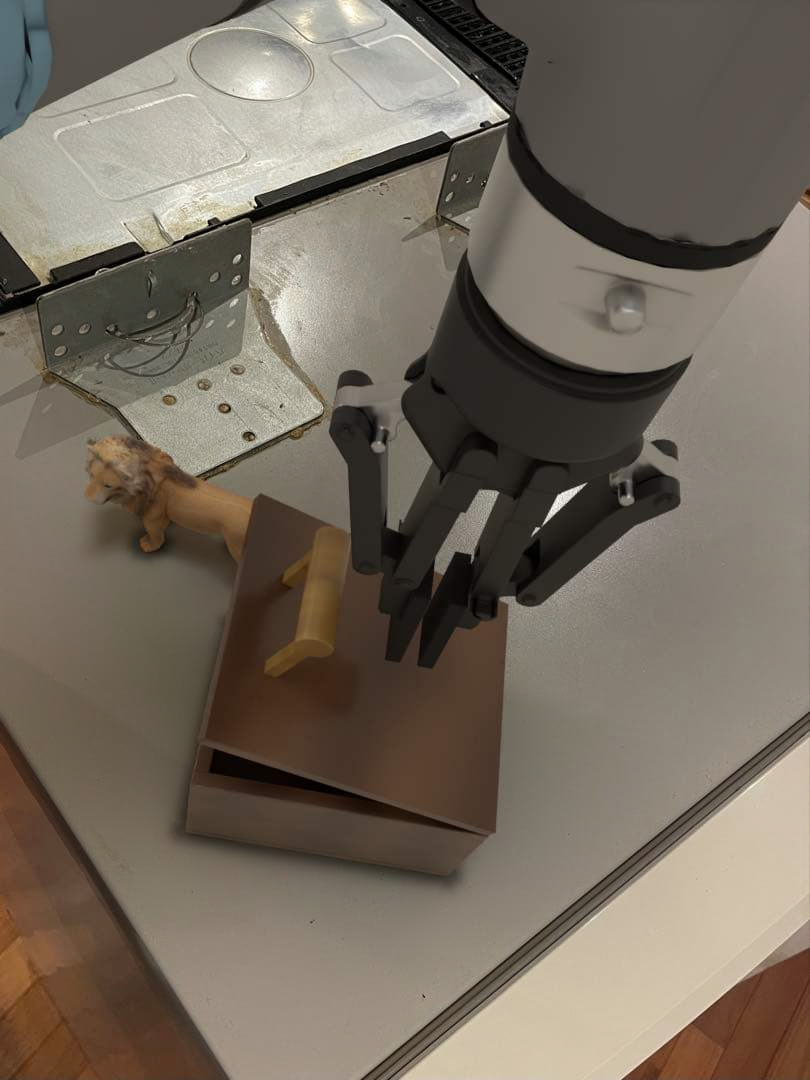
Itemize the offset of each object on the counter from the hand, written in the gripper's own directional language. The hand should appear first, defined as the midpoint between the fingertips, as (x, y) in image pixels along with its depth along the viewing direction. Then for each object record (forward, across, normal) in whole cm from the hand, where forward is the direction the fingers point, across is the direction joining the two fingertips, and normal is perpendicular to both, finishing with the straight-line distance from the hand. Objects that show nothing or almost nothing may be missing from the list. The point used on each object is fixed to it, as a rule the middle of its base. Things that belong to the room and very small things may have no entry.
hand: (411, 639), depth 49 cm
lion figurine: (+16, -13, +12) cm, 24 cm away
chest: (+16, -1, 0) cm, 16 cm away
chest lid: (+4, -1, 0) cm, 4 cm away
